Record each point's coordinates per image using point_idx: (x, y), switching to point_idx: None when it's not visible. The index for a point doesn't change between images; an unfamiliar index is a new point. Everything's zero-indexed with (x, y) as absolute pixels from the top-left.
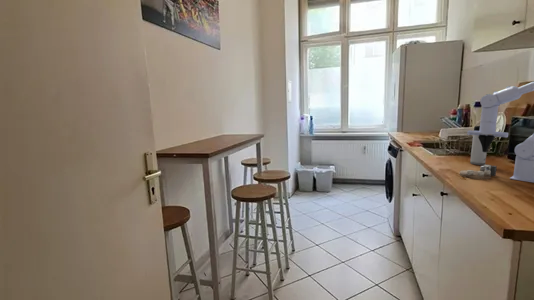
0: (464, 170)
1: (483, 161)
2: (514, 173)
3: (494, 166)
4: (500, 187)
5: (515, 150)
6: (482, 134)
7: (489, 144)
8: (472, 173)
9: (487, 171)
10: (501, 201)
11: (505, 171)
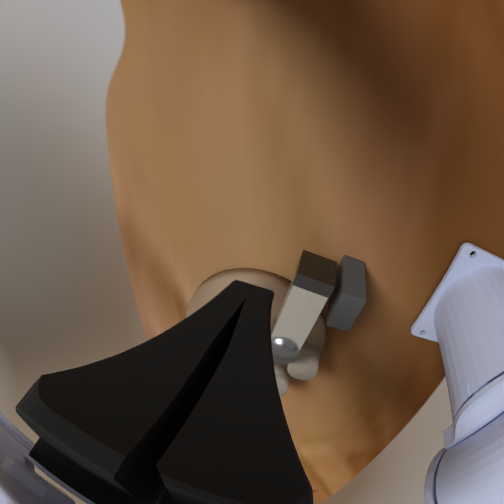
0: (198, 295)
1: None
2: (437, 333)
3: (347, 318)
4: (334, 426)
5: (425, 487)
6: (76, 495)
7: (262, 374)
8: None
9: (301, 379)
10: (312, 474)
11: (440, 103)
